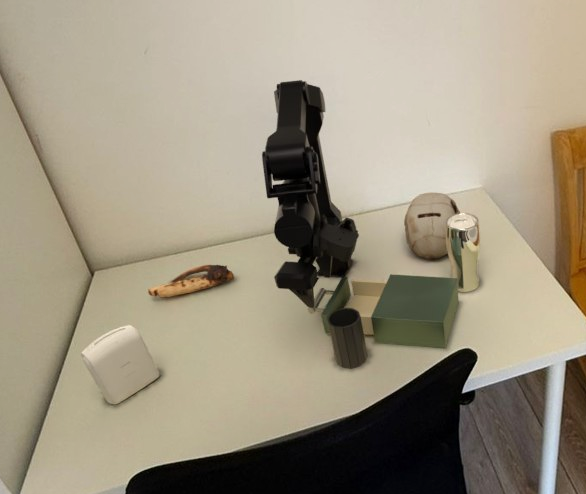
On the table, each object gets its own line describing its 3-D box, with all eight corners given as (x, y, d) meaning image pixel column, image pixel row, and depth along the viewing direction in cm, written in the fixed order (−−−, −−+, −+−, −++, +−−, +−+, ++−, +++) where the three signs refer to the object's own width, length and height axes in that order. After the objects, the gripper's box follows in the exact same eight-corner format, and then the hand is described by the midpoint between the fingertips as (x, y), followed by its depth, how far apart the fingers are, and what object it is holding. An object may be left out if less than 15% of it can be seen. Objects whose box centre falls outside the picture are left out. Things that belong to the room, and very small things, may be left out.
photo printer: (113, 409, 112) (84, 356, 104) (101, 398, 114) (71, 346, 106) (164, 376, 117) (140, 324, 110) (152, 367, 120) (127, 315, 112)
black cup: (332, 366, 116) (322, 326, 110) (342, 346, 120) (333, 306, 114) (362, 369, 115) (354, 328, 109) (371, 349, 119) (363, 308, 113)
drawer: (305, 332, 123) (300, 313, 120) (327, 293, 133) (323, 275, 130) (388, 338, 120) (385, 319, 117) (404, 298, 130) (402, 279, 127)
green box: (375, 342, 121) (370, 317, 117) (393, 299, 131) (390, 274, 127) (445, 348, 118) (443, 322, 114) (458, 303, 128) (457, 278, 124)
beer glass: (479, 294, 130) (476, 230, 121) (445, 292, 131) (441, 229, 122) (483, 275, 135) (481, 212, 126) (451, 274, 137) (447, 211, 127)
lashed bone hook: (232, 267, 146) (151, 286, 142) (227, 249, 143) (144, 268, 139) (237, 287, 139) (151, 307, 135) (231, 268, 136) (144, 288, 132)
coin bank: (441, 217, 156) (439, 169, 146) (482, 252, 145) (483, 203, 136) (386, 240, 150) (380, 191, 141) (424, 278, 140) (421, 229, 130)
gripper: (330, 248, 96) (347, 327, 106) (364, 190, 110) (375, 265, 120) (263, 245, 98) (285, 323, 108) (303, 188, 112) (320, 262, 122)
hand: (319, 291), depth 115 cm, fingers open, 9 cm apart
